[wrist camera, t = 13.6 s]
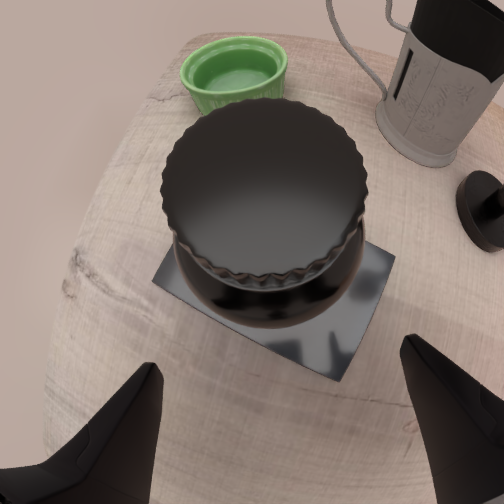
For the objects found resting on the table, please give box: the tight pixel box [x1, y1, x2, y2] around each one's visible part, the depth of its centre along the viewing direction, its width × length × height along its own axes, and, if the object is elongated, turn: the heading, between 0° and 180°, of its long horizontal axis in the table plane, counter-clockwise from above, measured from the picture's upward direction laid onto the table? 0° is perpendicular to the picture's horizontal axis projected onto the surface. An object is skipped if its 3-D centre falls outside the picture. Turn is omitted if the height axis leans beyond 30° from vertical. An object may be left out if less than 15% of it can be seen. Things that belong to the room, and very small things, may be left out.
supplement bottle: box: [160, 97, 368, 329], centre depth 12 cm, size 7×7×12 cm
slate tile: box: [152, 241, 396, 382], centre depth 18 cm, size 9×14×1 cm, turn 62°
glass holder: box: [326, 0, 504, 168], centre depth 13 cm, size 9×14×15 cm, turn 70°
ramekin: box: [180, 36, 288, 116], centre depth 20 cm, size 9×9×4 cm
